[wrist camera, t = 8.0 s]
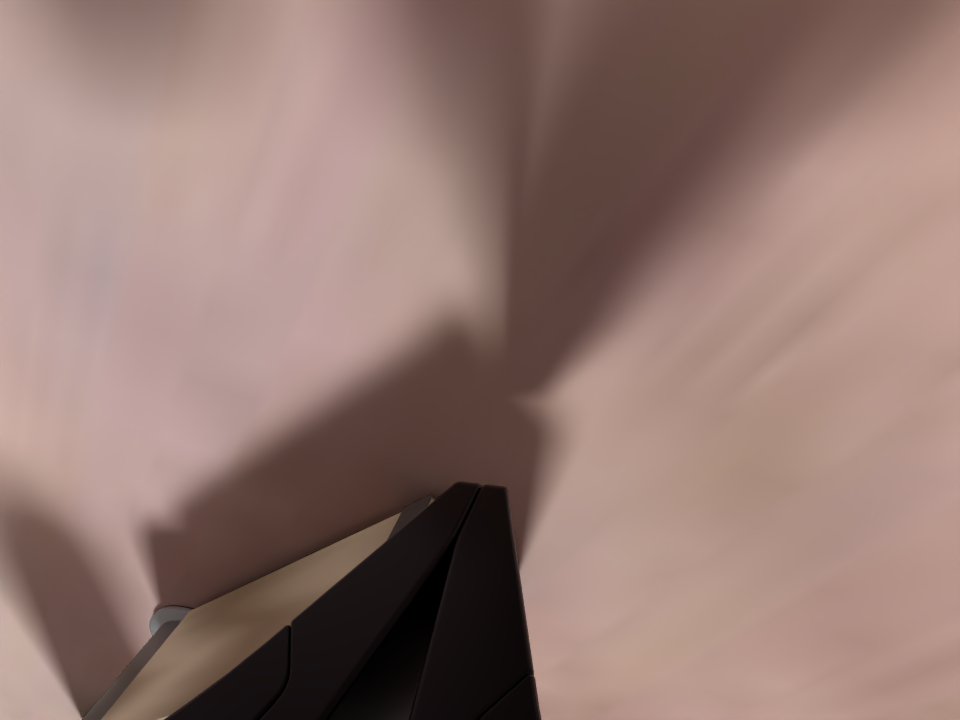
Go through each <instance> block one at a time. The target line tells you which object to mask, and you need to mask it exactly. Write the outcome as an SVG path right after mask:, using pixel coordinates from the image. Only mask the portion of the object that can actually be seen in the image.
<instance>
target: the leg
mask: <svg viewBox="0 0 960 720" xmlns="http://www.w3.org/2000/svg"><path fill="white" fill-rule="evenodd" d="M434 500H436V499H435V498H434V497H433V496H432V495H429V496H426V497H424V498H422V499H420V500H418V501H416V502H414V503H412V504H410V505H407V506H405V507H404V508H403V510H402V512H400V513H398V514H396V515H394V516H392V517H390V518H387V519H385V520H383V521H381V522H379V523H377V524H375V525H373V526H370V527H368V528H366V529H364V530H362V531H360V532H358V533H355V534H353V535H351V536H349V537H347V538H345V539H343V540H341V541H338V542H336V543H334V544H332V545H330V546H328V547H326V548H323V549H321V550H319V551H317V552H315V553H313V554H311V555H308V556H306V557H304V558H302V559H300V560H298V561H296V562H294V563H291V564H289V565H287V566H285V567H283V568H281V569H279V570H276V571H274V572H272V573H270V574H268V575H266V576H264V577H262V578H259V579H257V580H255V581H253V582H251V583H249V584H247V585H244V586H242V587H240V588H238V589H236V590H234V591H232V592H230V593H227V594H225V595H223V596H221V597H219V598H217V599H215V600H212V601H210V602H208V603H206V604H204V605H202V606H200V607H197V608H195V609H193V610H191V611H189V613H188V614H187V615H186V616H185V617H184V619H183V620H182V621H168V622H165V623H164V624H163V625H162V626H161V627H160V628H159V629H158V630H157V632H156V633H155V634H154V635H153V636H152V637H151V639H150V640H149V641H148V642H147V643H146V645H145V646H144V647H143V648H142V649H141V650H140V652H139V653H138V654H137V655H136V656H135V658H134V659H133V660H132V661H131V662H130V663H129V665H128V666H127V667H126V668H125V669H124V670H123V672H122V673H121V674H120V675H119V676H118V678H117V679H116V680H115V681H114V682H113V683H112V685H111V686H110V687H109V688H108V689H107V691H106V692H105V693H104V694H103V695H102V696H101V698H100V699H99V700H98V701H97V702H96V704H95V705H94V706H93V707H92V708H91V709H90V711H89V712H88V713H87V714H86V715H85V717H84V718H83V719H82V720H164V719H165V718H167V717H168V716H169V715H171V714H172V713H174V712H175V711H176V710H178V709H179V708H181V707H182V706H183V705H185V704H186V703H187V702H189V701H190V700H192V699H193V698H194V697H196V696H197V695H198V694H200V693H201V692H202V691H204V690H205V689H206V688H208V687H209V686H210V685H212V684H213V683H214V682H216V681H217V680H218V679H220V678H221V677H223V676H224V675H225V674H227V673H228V672H229V671H230V670H232V669H233V668H234V667H235V666H237V665H238V664H239V663H240V662H242V661H243V660H244V659H245V658H247V657H248V656H249V655H250V654H252V653H253V652H254V651H255V650H257V649H258V648H259V647H260V646H261V645H263V644H264V643H265V642H266V641H268V640H269V639H270V638H271V637H272V636H273V635H275V634H276V633H277V632H278V631H279V630H281V629H282V628H283V627H284V626H286V625H290V626H291V621H292V620H293V619H294V618H295V617H296V616H298V615H299V614H300V613H301V612H302V611H304V610H305V609H306V608H307V607H308V606H309V605H311V604H312V603H313V602H314V601H315V600H317V599H318V598H319V597H320V596H321V595H323V594H324V593H325V592H326V591H327V590H329V589H330V588H331V587H332V586H333V585H334V584H336V583H337V582H338V581H339V580H340V579H342V578H343V577H344V576H345V575H346V574H348V573H349V572H350V571H351V570H352V569H354V568H355V567H356V566H357V565H358V564H359V563H361V562H362V561H363V560H364V559H365V558H367V557H368V556H369V555H370V554H371V553H373V552H374V551H375V550H376V549H377V548H379V547H380V546H381V545H382V544H383V543H384V542H386V541H387V540H388V539H389V538H390V537H392V536H393V535H394V534H395V533H396V532H398V531H399V530H400V529H401V528H402V527H404V526H405V525H406V524H407V523H408V522H409V521H411V520H412V519H413V518H414V517H415V516H417V515H418V514H419V513H420V512H421V511H423V510H424V509H425V508H426V507H427V506H428V505H430V504H431V503H432V502H433V501H434Z"/></svg>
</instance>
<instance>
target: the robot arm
mask: <svg viewBox="0 0 960 720" xmlns="http://www.w3.org/2000/svg"><path fill="white" fill-rule="evenodd" d="M164 720H541V714H540V709H539V702H538V695H537V688H536V681H535V677H534V670H533V663H532V656H531V649H530V642H529V635H528V628H527V621H526V614H525V607H524V600H523V593H522V586H521V579H520V573H519V566H518V559H517V552H516V545H515V538H514V531H513V524H512V517H511V510H510V503H509V496H508V490H507V488H506V487H503V486H495V485H484V486H481V485H480V484H478V483H469V482H457V483H455V484H453V485H452V486H451V487H450V488H449V489H448V490H446V491H445V492H444V493H443V494H442V495H440V496H439V497H438V498H437V499H436V500H434V501H433V502H432V503H431V504H430V505H428V506H427V507H426V508H425V509H424V510H423V511H421V512H420V513H419V514H418V515H417V516H415V517H414V518H413V519H412V520H411V521H409V522H408V523H407V524H406V525H405V526H404V527H402V528H401V529H400V530H399V531H398V532H396V533H395V534H394V535H393V536H392V537H390V538H389V539H388V540H387V541H386V542H384V543H383V544H382V545H381V546H380V547H379V548H377V549H376V550H375V551H374V552H373V553H371V554H370V555H369V556H368V557H367V558H365V559H364V560H363V561H362V562H361V563H359V564H358V565H357V566H356V567H355V568H354V569H352V570H351V571H350V572H349V573H348V574H346V575H345V576H344V577H343V578H342V579H340V580H339V581H338V582H337V583H336V584H334V585H333V586H332V587H331V588H330V589H329V590H327V591H326V592H325V593H324V594H323V595H321V596H320V597H319V598H318V599H317V600H315V601H314V602H313V603H312V604H311V605H309V606H308V607H307V608H306V609H305V610H304V611H302V612H301V613H300V614H299V615H298V616H296V617H295V618H294V619H293V620H292V621H291V626H290V625H286V626H284V627H283V628H282V629H281V630H279V631H278V632H277V633H276V634H275V635H273V636H272V637H271V638H270V639H269V640H268V641H266V642H265V643H264V644H263V645H261V646H260V647H259V648H258V649H257V650H255V651H254V652H253V653H252V654H250V655H249V656H248V657H247V658H245V659H244V660H243V661H242V662H240V663H239V664H238V665H237V666H235V667H234V668H233V669H232V670H230V671H229V672H228V673H227V674H225V675H224V676H223V677H221V678H220V679H218V680H217V681H216V682H214V683H213V684H212V685H210V686H209V687H208V688H206V689H205V690H204V691H202V692H201V693H200V694H198V695H197V696H196V697H194V698H193V699H192V700H190V701H189V702H187V703H186V704H185V705H183V706H182V707H181V708H179V709H178V710H176V711H175V712H174V713H172V714H171V715H169V716H168V717H167V718H165V719H164Z"/></svg>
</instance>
